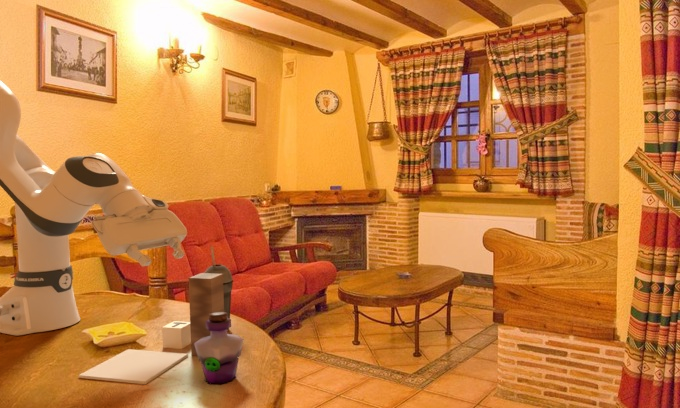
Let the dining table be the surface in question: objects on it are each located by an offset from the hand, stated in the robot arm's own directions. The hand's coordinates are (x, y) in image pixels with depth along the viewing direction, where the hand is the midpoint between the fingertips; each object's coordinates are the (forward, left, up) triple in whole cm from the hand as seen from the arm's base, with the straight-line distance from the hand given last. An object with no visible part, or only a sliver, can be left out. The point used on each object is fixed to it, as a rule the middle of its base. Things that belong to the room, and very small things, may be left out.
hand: (164, 260), depth 109 cm
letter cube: (+1, +1, -19) cm, 19 cm away
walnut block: (+10, -2, -19) cm, 22 cm away
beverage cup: (+5, +12, -19) cm, 23 cm away
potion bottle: (+19, -13, -19) cm, 30 cm away
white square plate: (0, -12, -19) cm, 22 cm away
